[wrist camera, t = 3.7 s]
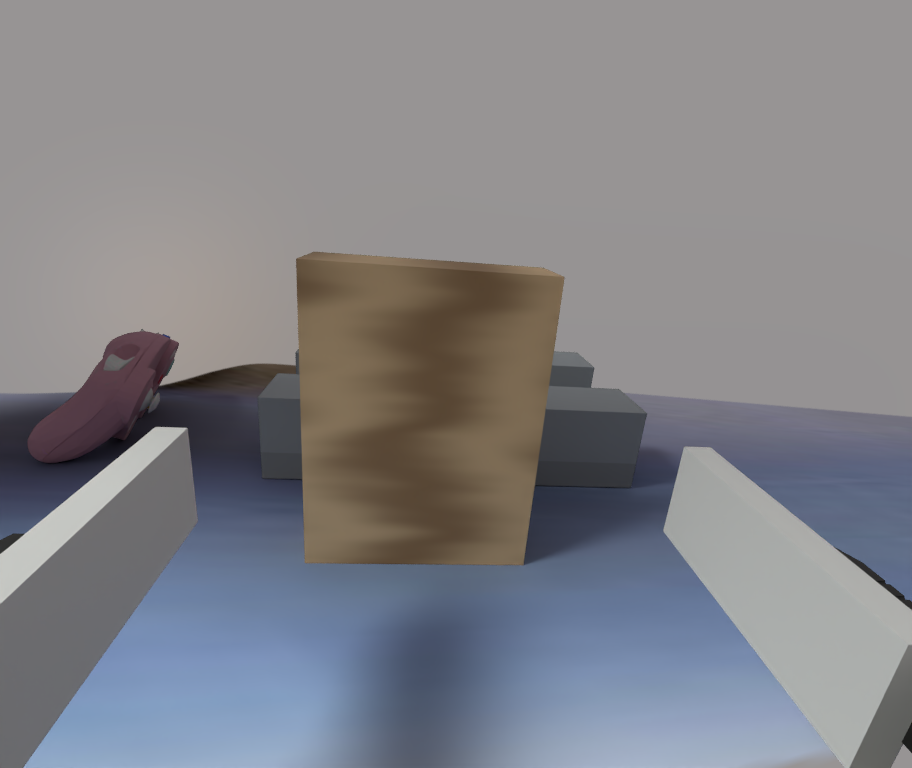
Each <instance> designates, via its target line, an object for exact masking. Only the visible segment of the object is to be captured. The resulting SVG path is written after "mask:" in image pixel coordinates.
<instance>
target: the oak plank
mask: <svg viewBox="0 0 912 768" xmlns="http://www.w3.org/2000/svg"><path fill="white" fill-rule="evenodd" d="M296 268H297V299H298V300H297V301H298V338H299V373H300V408H301V444H302V479H303V514H304V549H305V563H349V564H451V565H523V564H524V557H525V550H526V543H527V536H528V529H529V522H530V515H531V508H532V501H533V494H534V487H535V480H536V473H537V466H538V459H539V452H540V445H541V438H542V431H543V424H544V417H545V410H546V403H547V396H548V389H549V382H550V375H551V368H552V361H553V354H554V347H555V340H556V333H557V326H558V319H559V312H560V305H561V298H562V291H563V284H564V277H563V276H561V275H558V274H556V273H554V272H552V271H549V270H547V269H545V268H539V267H524V266H511V265H495V264H482V263H467V262H453V261H438V260H424V259H410V258H396V257H381V256H367V255H352V254H339V253H324V252H312V253H310V254H307V255H304V256H302V257H299V258H297V259H296Z"/></svg>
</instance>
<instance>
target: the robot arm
mask: <svg viewBox="0 0 912 768" xmlns="http://www.w3.org/2000/svg"><path fill="white" fill-rule="evenodd" d="M197 522H198V518H197V509H196V500H195V490H194V481H193V472H192V463H191V454H190V445H189V436H188V428H175V427H155V428H154V429H152V430H151V431H150V432H149V433H147V434H146V435H145V436H144V437H143V438H141V439H140V440H139V441H138V442H137V443H135V444H134V445H133V446H132V447H130V448H129V449H128V450H127V451H126V452H124V453H123V454H122V455H121V456H119V457H118V458H117V459H116V460H115V461H113V462H112V463H111V464H110V465H108V466H107V467H106V468H105V469H104V470H102V471H101V472H100V473H99V474H98V475H96V476H95V477H94V478H93V479H91V480H90V481H89V482H88V483H87V484H85V485H84V486H83V487H82V488H80V489H79V490H78V491H77V492H76V493H74V494H73V495H72V496H71V497H69V498H68V499H67V500H66V501H65V502H63V503H62V504H61V505H60V506H59V507H57V508H56V509H55V510H54V511H52V512H51V513H50V514H49V515H48V516H46V517H45V518H44V519H43V520H41V521H40V522H39V523H38V524H37V525H35V526H34V527H33V528H32V529H30V530H29V531H28V532H27V533H26V534H12V535H10V536H8V537H6V538H4V539H2V540H0V768H23V767H24V766H25V764H26V763H27V761H28V760H29V759H30V757H31V756H32V754H33V753H34V752H35V750H36V749H37V747H38V746H39V745H40V743H41V742H42V740H43V739H44V738H45V736H46V735H47V733H48V732H49V730H50V729H51V728H52V726H53V725H54V723H55V722H56V721H57V719H58V718H59V716H60V715H61V714H62V712H63V711H64V709H65V708H66V707H67V705H68V704H69V702H70V701H71V699H72V698H73V697H74V695H75V694H76V692H77V691H78V690H79V688H80V687H81V685H82V684H83V683H84V681H85V680H86V678H87V677H88V676H89V674H90V673H91V671H92V670H93V669H94V667H95V666H96V664H97V663H98V661H99V660H100V659H101V657H102V656H103V654H104V653H105V652H106V650H107V649H108V647H109V646H110V645H111V643H112V642H113V640H114V639H115V638H116V636H117V635H118V633H119V632H120V630H121V629H122V628H123V626H124V625H125V623H126V622H127V621H128V619H129V618H130V616H131V615H132V614H133V612H134V611H135V609H136V608H137V607H138V605H139V604H140V602H141V601H142V600H143V598H144V597H145V595H146V594H147V592H148V591H149V590H150V588H151V587H152V585H153V584H154V583H155V581H156V580H157V578H158V577H159V576H160V574H161V573H162V571H163V570H164V569H165V567H166V566H167V564H168V563H169V561H170V560H171V559H172V557H173V556H174V554H175V553H176V552H177V550H178V549H179V547H180V546H181V545H182V543H183V542H184V540H185V539H186V538H187V536H188V535H189V533H190V532H191V531H192V529H193V528H194V526H195V525H196V523H197ZM663 532H664V533H665V534H666V535H667V537H668V538H669V539H670V541H671V542H672V543H673V545H674V546H675V547H676V548H677V550H678V551H679V552H680V554H681V555H682V556H683V558H684V559H685V560H686V562H687V563H688V564H689V565H690V567H691V568H692V569H693V571H694V572H695V573H696V575H697V576H698V577H699V578H700V580H701V581H702V582H703V584H704V585H705V586H706V588H707V589H708V590H709V592H710V593H711V594H712V595H713V597H714V598H715V599H716V601H717V602H718V603H719V605H720V606H721V607H722V608H723V610H724V611H725V612H726V614H727V615H728V616H729V618H730V619H731V620H732V622H733V623H734V624H735V625H736V627H737V628H738V629H739V631H740V632H741V633H742V635H743V636H744V637H745V638H746V640H747V641H748V642H749V644H750V645H751V646H752V648H753V649H754V650H755V652H756V653H757V654H758V655H759V657H760V658H761V659H762V661H763V662H764V663H765V665H766V666H767V667H768V669H769V670H770V671H771V672H772V674H773V675H774V676H775V678H776V679H777V680H778V682H779V683H780V684H781V685H782V687H783V688H784V689H785V691H786V692H787V693H788V695H789V696H790V697H791V699H792V700H793V701H794V702H795V704H796V705H797V706H798V708H799V709H800V710H801V712H802V713H803V714H804V715H805V717H806V718H807V719H808V721H809V722H810V723H811V725H812V726H813V727H814V729H815V730H816V731H817V732H818V734H819V735H820V736H821V738H822V739H823V740H824V742H825V743H826V744H827V745H828V747H829V748H830V749H831V751H832V752H833V753H834V755H835V756H836V757H837V759H838V760H839V761H840V762H841V764H842V765H843V766H844V768H891V766H892V764H893V762H894V760H895V758H896V756H897V754H898V753H899V751H900V749H901V747H902V745H903V744H904V745H905V746H906V747H907V748H908V749H909V750H910V752H911V753H912V602H911V601H910V600H905V598H904V595H903V594H901V593H900V592H899V591H897V590H896V589H895V588H894V587H892V586H891V585H890V584H886V583H885V580H884V579H882V578H881V577H880V576H879V575H877V574H876V573H875V572H873V571H872V570H871V569H870V568H868V567H867V566H866V565H865V564H863V563H862V562H860V561H859V560H857V559H855V558H853V557H851V556H850V555H848V554H846V553H844V552H842V551H841V550H839V549H837V548H835V547H833V546H832V545H831V544H829V543H828V542H827V541H826V540H824V539H823V538H822V537H821V536H819V535H818V534H817V533H816V532H814V531H813V530H812V529H811V528H809V527H808V526H807V525H806V524H805V523H803V522H802V521H801V520H800V519H798V518H797V517H796V516H795V515H793V514H792V513H791V512H790V511H788V510H787V509H786V508H785V507H783V506H782V505H781V504H780V503H779V502H777V501H776V500H775V499H774V498H772V497H771V496H770V495H769V494H767V493H766V492H765V491H764V490H762V489H761V488H760V487H759V486H757V485H756V484H755V483H754V482H753V481H751V480H750V479H749V478H748V477H746V476H745V475H744V474H743V473H741V472H740V471H739V470H738V469H736V468H735V467H734V466H733V465H731V464H730V463H729V462H728V461H727V460H725V459H724V458H723V457H722V456H720V455H719V454H718V453H717V452H715V451H714V450H713V449H712V448H710V447H684V449H683V453H682V457H681V461H680V465H679V469H678V473H677V477H676V482H675V486H674V490H673V494H672V498H671V502H670V506H669V510H668V514H667V518H666V522H665V526H664V530H663Z"/></svg>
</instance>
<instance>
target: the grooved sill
mask: <svg viewBox="0 0 912 768" xmlns="http://www.w3.org/2000/svg"><path fill="white" fill-rule="evenodd" d="M593 372H594V367H593V366H592V365H591V364H590V363H589V362H587V361H586V360H585V359H584V358H583V357H582V356H580V355H579V354H578V353H574V352H556V351H554V354H553V361H552V368H551V375H550V382H549V389H548V396H547V403H546V410H545V417H544V424H543V431H542V438H541V445H540V452H539V459H538V466H537V473H536V480H535V485H546V486H585V487H624V488H631V485H632V480H633V476H634V471H635V466H636V462H637V457H638V453H639V448H640V443H641V439H642V434H643V429H644V425H645V420H646V415H647V413H646V412H645V411H644V410H642V409H641V408H640V407H639V406H638V405H637V404H636V403H634V402H633V401H632V400H631V399H630V398H629V397H628V396H626V395H625V394H624V393H623V392H622V391H621V390H619V389H604V388H591V383H592V378H593ZM258 414H259V431H260V448H261V465H262V478H276V479H302V444H301V408H300V373H299V349H298V350H297V351H296V374H277V375H276V376H275V377H274V379H273V380H272V381H271V382H270V383H269V384H268V386H267V387H266V388H265V389H264V390H263V391H262V393H261V394H260V395H259V396H258Z"/></svg>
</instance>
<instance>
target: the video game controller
mask: <svg viewBox="0 0 912 768" xmlns="http://www.w3.org/2000/svg"><path fill="white" fill-rule="evenodd" d="M178 346H179V343H178V342H176V341H174V340H171V339H170V337H169V336H167V335H164V334H163V335H161V334H159V333H156V334H155V333H151V332H145V331H144V330H143V329H141V331H140V332H133V333H127V334H124V335H122V336H119V337H117V338H115V339H113V340H112V341H111V342H110V343H109V344H108V345H107V347H106V349H105V352H104V355H103V359H102V360H101V361H100V362H99V363H98V365H97V366H96V367H95V369H94V370H93V372H92V374H91V375H90V377H89V378H88V380H87V381H86V383H85V384H84V385H83V386H82V388H81V389H80V390H79V391H78V392H77V393H76V394H75V395H73V396H72V397H71V398H70V399H69V400H68V401H67V402H66V403H64V404H63V405H62V406H60V407H59V408H58V409H56V410H55V411H54V412H52V413H51V414H49V415H48V416H47V417H45V418H44V419H43V420H41V421H40V422H39V423H38V424H37V425H36V426H35V427H34V429H33V430H32V432H31V434H30V436H29V437H28V441H27V444H28V450H29V452H30V454H31V455H32V456H33V457H34V458H35V459H37V460H38V461H40V462H45V463H57V462H62V461H67V460H71V459H75V458H78V457H80V456H82V455H84V454H86V453H89V452H91V451H92V450H94V449H95V448H97V447H98V446H100V445H101V444H103V443H104V442H106V441H107V440H108V439H109V438H111V437H115V438H118V439H121V440H125V439H126V438H127V436H128V435H129V433H130V432H131V430H132V428H133V426H134V424H135V422H136V420H137V418H141V417H142V416H143V414H144V413H145V411H146V409H147V408H148V413H150V412H151V411H153V410H154V409H156V407H157V405H158V403H159V401H160V395H159V393H157V394H156V396H155V397H153V396H154V394H155V392H156V390H157V388H158V387H159V385H160V383H161V381H162V379H163V378H164V377H165V376H167V374H168V373H169V371H170V369H171V367H172V365H173V363H174V357H175V353H176V351H177V349H178Z"/></svg>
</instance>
